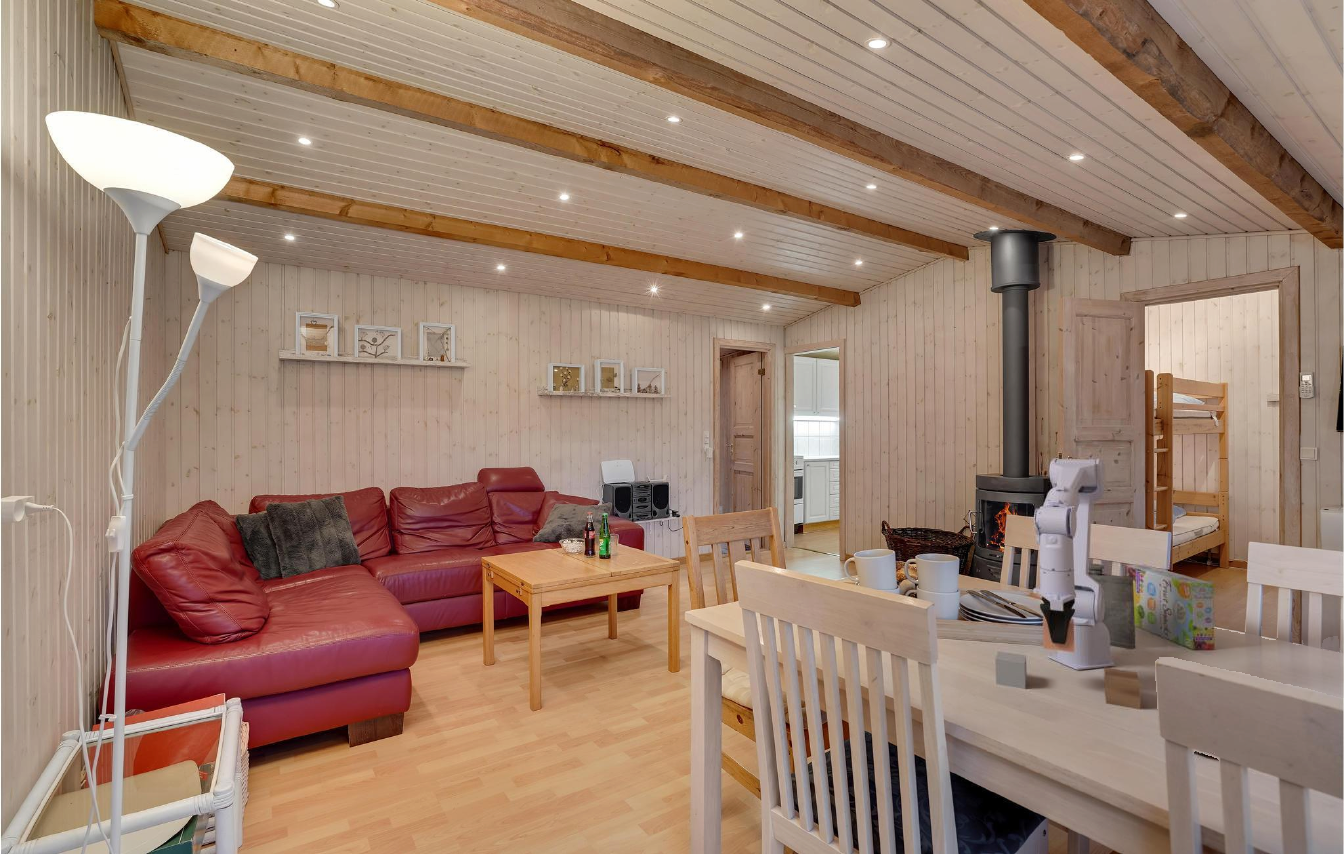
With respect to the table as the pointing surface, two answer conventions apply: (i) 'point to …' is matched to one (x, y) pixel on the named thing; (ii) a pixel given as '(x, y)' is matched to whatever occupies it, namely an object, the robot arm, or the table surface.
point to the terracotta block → (1062, 647)
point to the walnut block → (1122, 688)
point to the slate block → (1011, 670)
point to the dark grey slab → (1117, 606)
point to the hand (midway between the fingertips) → (1058, 638)
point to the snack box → (1173, 606)
